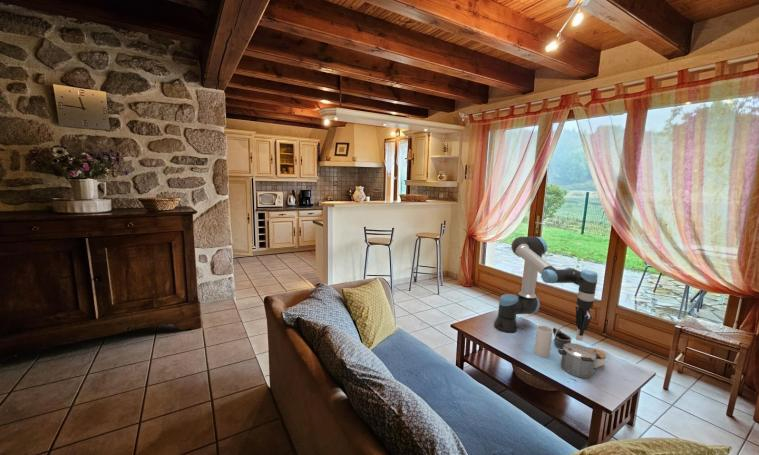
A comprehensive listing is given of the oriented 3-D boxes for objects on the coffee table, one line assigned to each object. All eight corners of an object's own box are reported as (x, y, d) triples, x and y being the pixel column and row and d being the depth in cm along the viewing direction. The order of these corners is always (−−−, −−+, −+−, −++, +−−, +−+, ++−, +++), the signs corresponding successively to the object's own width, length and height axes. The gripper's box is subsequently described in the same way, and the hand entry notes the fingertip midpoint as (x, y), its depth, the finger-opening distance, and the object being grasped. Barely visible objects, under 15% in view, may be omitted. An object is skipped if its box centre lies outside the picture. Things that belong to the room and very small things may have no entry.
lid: (558, 343, 184) (558, 340, 184) (587, 346, 182) (587, 343, 182) (572, 360, 167) (572, 357, 167) (604, 364, 165) (604, 361, 165)
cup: (551, 358, 188) (554, 332, 185) (536, 356, 189) (539, 330, 187) (546, 350, 196) (550, 326, 193) (532, 348, 197) (535, 324, 195)
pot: (550, 358, 187) (552, 342, 185) (588, 363, 184) (591, 346, 183) (562, 375, 171) (565, 357, 169) (603, 380, 169) (607, 362, 167)
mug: (563, 351, 195) (565, 336, 194) (545, 341, 207) (547, 327, 205) (573, 349, 199) (576, 334, 198) (555, 339, 211) (557, 325, 209)
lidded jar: (577, 361, 186) (579, 346, 184) (589, 358, 190) (591, 343, 188) (595, 372, 176) (598, 356, 174) (608, 368, 180) (610, 352, 179)
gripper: (572, 294, 180) (566, 333, 183) (584, 303, 167) (577, 345, 171) (586, 295, 179) (580, 334, 183) (599, 304, 166) (592, 346, 170)
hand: (579, 339), depth 177 cm, fingers closed
